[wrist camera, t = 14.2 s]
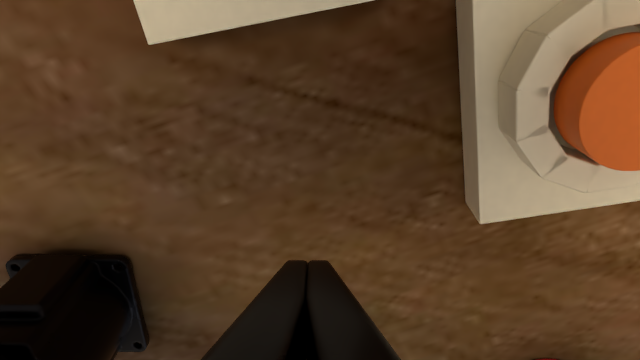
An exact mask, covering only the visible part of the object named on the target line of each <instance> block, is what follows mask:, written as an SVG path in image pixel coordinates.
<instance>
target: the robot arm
mask: <svg viewBox="0 0 640 360" xmlns="http://www.w3.org/2000/svg"><path fill="white" fill-rule="evenodd" d="M16 264H17V265H18V266H17V265H16ZM117 264H120V265H122V267H120V266H118V265H117ZM6 269H7V271H8V274H9V276H10V280H9V281H8V282H7V283H6V284H5V285H3V286H2V287H1V288H0V360H114V358H115V356H116V354H117V353H118V352H141V351H144V350H145V349H146V347H147V345H148V343H149V338H148V334H147V330H146V326H145V322H144V317H143V313H142V309H141V305H140V300H139V296H138V292H137V288H136V283H135V279H134V275H133V271H132V266H131V263H130V261H129V260H128V259H127V258H126V257H124V256H84V255H36V256H14V257H12V258H11V259H10V260H9V261H8V262H7V263H6ZM138 342H139V343H138ZM201 360H401V359H400V358H399V356H398V355H397V354H396V352H395V351H394V350H393V348H392V347H391V346H390V344H389V343H388V341H387V340H386V339H385V337H384V336H383V335H382V333H381V332H380V331H379V329H378V328H377V327H376V325H375V324H374V322H373V321H372V320H371V318H370V317H369V316H368V314H367V313H366V312H365V310H364V309H363V308H362V306H361V305H360V303H359V302H358V301H357V299H356V298H355V297H354V295H353V294H352V293H351V291H350V290H349V289H348V287H347V286H346V284H345V283H344V282H343V280H342V279H341V278H340V276H339V275H338V274H337V272H336V271H335V270H334V268H333V267H332V265H331V264H330V263H329V262H328V261H326V260H312V261H309V263H307V261H304V260H289V261H287V262H286V263H285V264H284V265H283V266H282V268H281V269H280V270H279V271H278V272H277V273H276V274H275V276H274V277H273V278H272V279H271V280H270V281H269V282H268V284H267V285H266V286H265V287H264V288H263V289H262V290H261V292H260V293H259V294H258V295H257V296H256V297H255V298H254V300H253V301H252V302H251V303H250V304H249V305H248V306H247V308H246V309H245V310H244V311H243V312H242V313H241V314H240V316H239V317H238V318H237V319H236V320H235V321H234V322H233V324H232V325H231V326H230V327H229V328H228V329H227V330H226V332H225V333H224V334H223V335H222V336H221V337H220V338H219V340H218V341H217V342H216V343H215V344H214V345H213V346H212V348H211V349H210V350H209V351H208V352H207V353H206V354H205V356H204V357H203V358H202V359H201Z"/></svg>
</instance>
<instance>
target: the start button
mask: <svg viewBox="0 0 640 360" xmlns="http://www.w3.org/2000/svg"><path fill="white" fill-rule="evenodd" d="M554 119H555V123H556V126H557V129H558V131H559V133H560V135H561V136H562V137H563V139H564V140H565V141H566V142H567V143H568V144H570V145H571V146H573V147H574V148H576V149H577V150H579V151H580V152H582V153H583V154H585V155H587V156H588V157H590V158H591V159H593V160H594V161H596V162H597V163H599V164H600V165H602V166H605V167H607V168H610V169H614V170H619V171H639V170H640V32H630V33H623V34H618V35H614V36H612V37H609V38H606V39H604V40H602V41H600V42H598V43H596V44H595V45H593V46H592V47H590V48H589V49H587V50H586V51H585V52H584V53H582V54H581V55H580V56H579V57H578V58H577V59H576V60H575V61H574V62H573V63H572V65H571V66H570V67H569V68H568V70H567V71H566V73H565V74H564V76H563V78H562V80H561V82H560V83H559V86H558V89H557V91H556V95H555V99H554Z"/></svg>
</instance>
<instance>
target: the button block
mask: <svg viewBox="0 0 640 360" xmlns="http://www.w3.org/2000/svg"><path fill="white" fill-rule="evenodd" d="M456 15H457V36H458V57H459V77H460V98H461V119H462V139H463V160H464V181H465V202H466V203H467V205H468V207H469V208H470V210H471V211H472V213H473V214H474V216H475V217H476V219H477V220H478V222H479V224H485V223H492V222H499V221H506V220H512V219H519V218H526V217H532V216H539V215H546V214H552V213H559V212H566V211H573V210H579V209H586V208H593V207H599V206H606V205H613V204H620V203H626V202H633V201H640V170H639V171H619V170H614V169H610V168H607V167H605V166H602V165H600V164H599V163H597V162H596V161H594V160H593V159H591V158H590V157H588V156H587V155H585V154H583V153H582V152H580V151H579V150H577V149H576V148H574V147H573V146H571V145H570V144H568V143H567V142H566V141H565V140H564V139H563V137H562V136H561V135H560V133H559V131H558V129H557V126H556V123H555V119H554V99H555V95H556V91H557V89H558V86H559V83H560V82H561V80H562V78H563V76H564V74H565V73H566V71H567V70H568V68H569V67H570V66H571V65H572V63H573V62H574V61H575V60H576V59H577V58H578V57H579V56H580V55H581V54H582V53H584V52H585V51H586V50H587V49H589V48H590V47H592V46H593V45H595V44H596V43H598V42H600V41H602V40H604V39H606V38H609V37H612V36H614V35H618V34H623V33H630V32H640V0H456Z"/></svg>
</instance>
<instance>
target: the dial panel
mask: <svg viewBox="0 0 640 360" xmlns="http://www.w3.org/2000/svg"><path fill="white" fill-rule="evenodd" d="M133 1H134V4H135V7H136V10H137V13H138V16H139V19H140V22H141V24H142V27H143V30H144V33H145V36H146V39H147V42H148V44H149V45H152V44H157V43H162V42H168V41H173V40H178V39H183V38H188V37H193V36H198V35H203V34H208V33H213V32H218V31H223V30H228V29H233V28H238V27H243V26H248V25H253V24H258V23H263V22H268V21H273V20H278V19H283V18H288V17H293V16H298V15H303V14H308V13H313V12H318V11H323V10H328V9H334V8H339V7H344V6H349V5H354V4H359V3H364V2H369V1H374V0H133Z"/></svg>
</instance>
